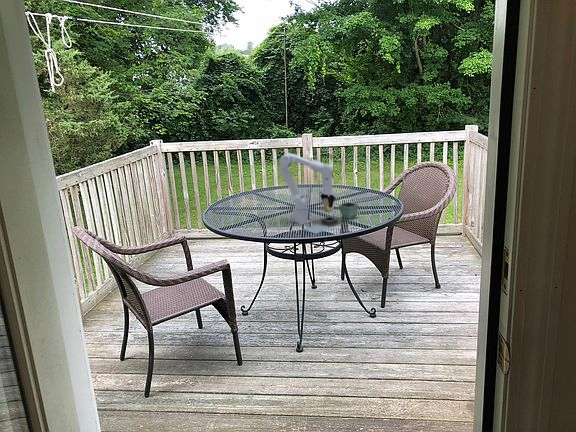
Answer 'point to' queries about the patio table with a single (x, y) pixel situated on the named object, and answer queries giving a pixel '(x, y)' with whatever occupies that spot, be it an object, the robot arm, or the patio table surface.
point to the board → (316, 229)
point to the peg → (327, 206)
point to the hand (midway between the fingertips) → (328, 206)
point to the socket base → (329, 221)
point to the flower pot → (348, 210)
